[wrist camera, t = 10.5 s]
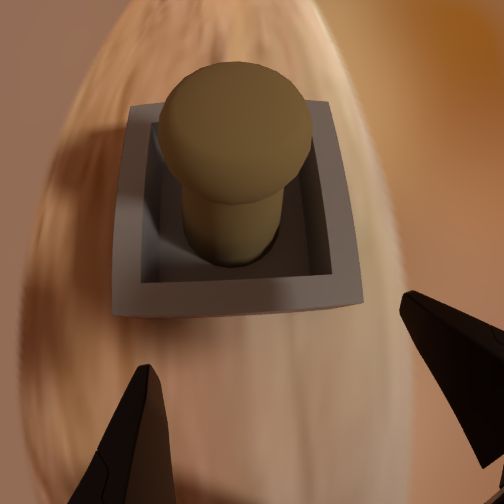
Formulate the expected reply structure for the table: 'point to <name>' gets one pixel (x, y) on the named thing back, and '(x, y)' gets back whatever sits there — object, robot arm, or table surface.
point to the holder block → (240, 278)
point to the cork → (234, 156)
